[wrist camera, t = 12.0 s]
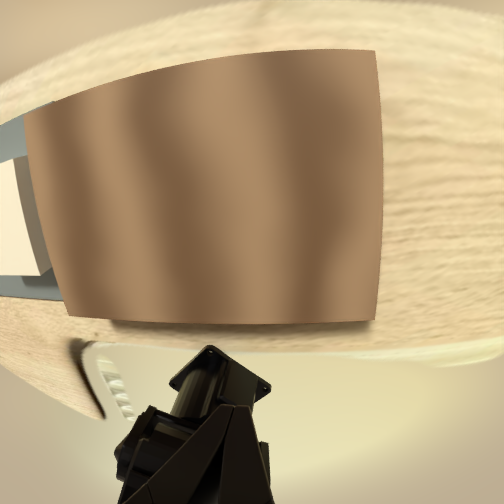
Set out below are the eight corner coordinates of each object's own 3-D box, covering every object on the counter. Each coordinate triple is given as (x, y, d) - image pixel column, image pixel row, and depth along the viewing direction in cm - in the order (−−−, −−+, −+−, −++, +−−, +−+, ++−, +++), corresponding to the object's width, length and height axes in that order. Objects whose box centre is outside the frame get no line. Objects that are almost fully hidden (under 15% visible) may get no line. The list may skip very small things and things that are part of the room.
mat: (54, 101, 18) (52, 101, 18) (94, 300, 24) (92, 302, 24) (-44, 150, 20) (-46, 151, 20) (-9, 293, 26) (-11, 294, 26)
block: (358, 65, 15) (374, 50, 12) (362, 286, 21) (374, 319, 17) (60, 112, 18) (23, 115, 15) (95, 289, 24) (68, 315, 20)
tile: (-26, 174, 18) (-6, 168, 20) (-1, 275, 21) (16, 263, 24) (12, 158, 17) (34, 153, 19) (40, 275, 20) (58, 262, 23)
